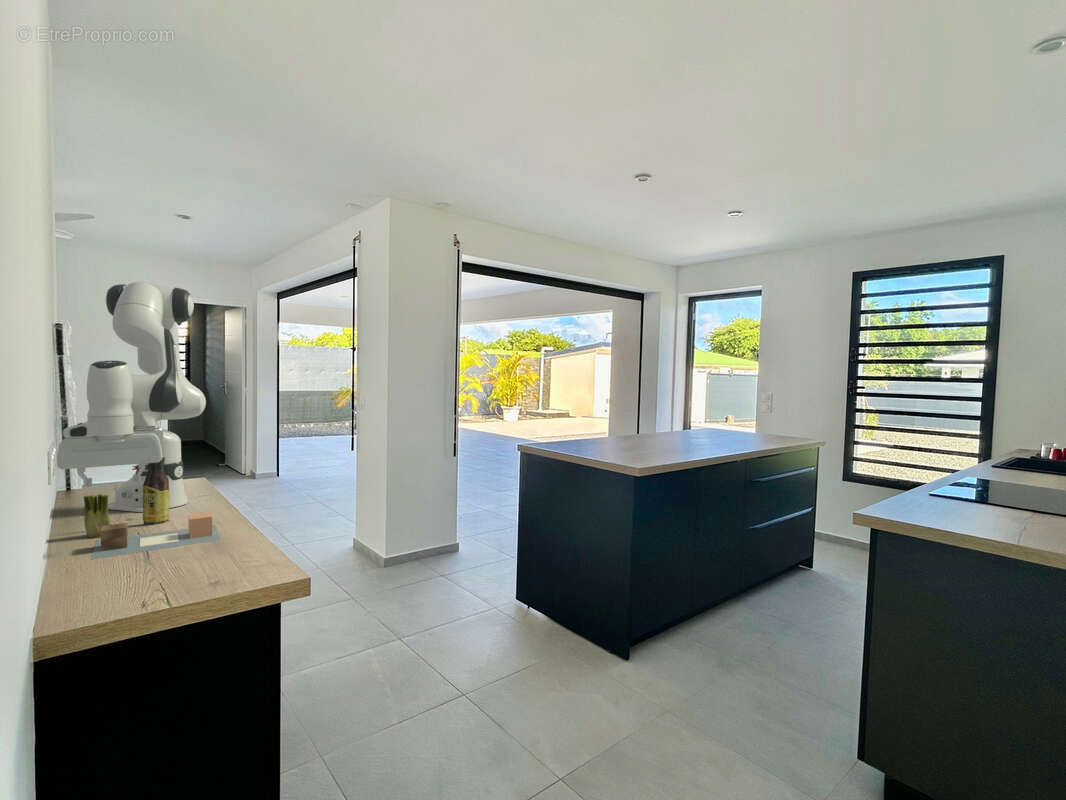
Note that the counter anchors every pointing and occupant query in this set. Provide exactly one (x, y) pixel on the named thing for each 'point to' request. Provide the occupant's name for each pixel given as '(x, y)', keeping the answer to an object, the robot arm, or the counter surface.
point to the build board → (155, 542)
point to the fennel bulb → (96, 514)
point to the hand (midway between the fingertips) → (112, 483)
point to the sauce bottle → (156, 495)
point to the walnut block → (114, 536)
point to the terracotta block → (200, 525)
